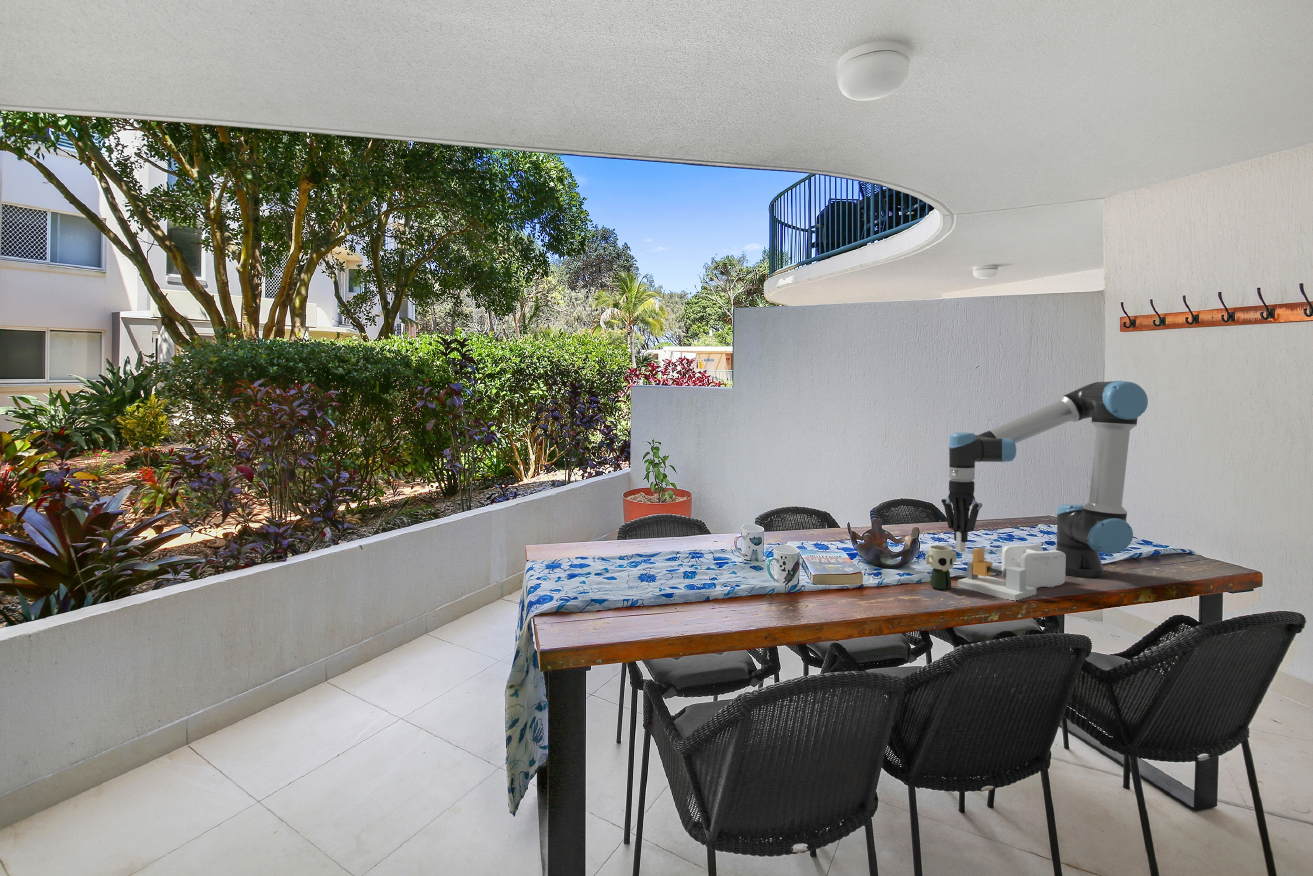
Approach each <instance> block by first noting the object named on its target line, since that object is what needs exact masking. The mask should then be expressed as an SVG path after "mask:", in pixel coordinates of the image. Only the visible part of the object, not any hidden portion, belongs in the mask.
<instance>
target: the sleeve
mask: <svg viewBox="0 0 1313 876" xmlns="http://www.w3.org/2000/svg"><path fill="white" fill-rule="evenodd" d="M985 551H986V550H985V547H981V546H980V547H976V548H973V549H972V561H973V574H975V575H980V576H984V577H986V576H992V575H993V572H989V571H987V567H988V568H993V562H992V561H988V560H985Z"/></svg>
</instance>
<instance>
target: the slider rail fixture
mask: <svg viewBox="0 0 1313 876" xmlns="http://www.w3.org/2000/svg"><path fill="white" fill-rule="evenodd" d="M966 566H967V568H966V577H964V578H961V579H958V580H957V587H959V588H962V589H967V590H970V591H973V590H974V592H977V591H978V593H982V594H985V595H989V596H994V597H997V598H999V599H1000V598H1001V599H1003V600H1004V599H1005V600H1007V599H1009V600H1008V601H1011V600H1015V601H1014V602H1017V601H1016V600H1018V601H1020V600H1019V599H1021V600H1023V599H1022V598H1024V599H1026V598H1025V597H1027V598H1029V596H1030V597H1032V595H1033V596H1036V595H1037V588H1035V587H1031V586H1027V585H1026V569H1023V568H1018V567H1014V566H1012V567H1009V568H1004V569H1003V571H1002V569H1001V570H1000V569H996V568H993V567H992V568H988V567H987V571H989V572H992V574H993V573H994V574H998V575H1001V576H1002V579H1001V578H997V577H992V576H991V575H989V576H986V577H984V576H980V575H975V574H973V560H972V561H971V562H970V561H967V562H966ZM1003 578H1004V579H1003ZM1005 578H1006V579H1005Z"/></svg>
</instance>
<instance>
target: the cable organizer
mask: <svg viewBox="0 0 1313 876" xmlns="http://www.w3.org/2000/svg"><path fill="white" fill-rule="evenodd" d="M1012 566H1014V567H1018V568H1023V569H1026V585H1027V586H1031V587H1035V588H1036V589H1039V588H1043V587H1046V588H1054V587H1055V586H1056V587H1057V586H1062V585H1063V584H1064V583H1065V582H1066V574H1065V569H1066V555H1065V553H1064V552H1061V551H1058V550H1056V549H1055V550H1044V549H1043V546H1041V545H1039V544H1036V543H1030V544H1029V543H1028V544H1016V545H1015V544H1013V545H1006V546H1005V547H1003V548H1002V551H1001V570H1002V571H1003V569H1004V568H1009V567H1012ZM1004 580H1006V578H1004Z"/></svg>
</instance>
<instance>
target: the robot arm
mask: <svg viewBox="0 0 1313 876" xmlns="http://www.w3.org/2000/svg"><path fill="white" fill-rule="evenodd" d="M1148 406H1149V399H1148V395H1147V393H1146V391H1145V389H1143V388H1142V387H1141V386H1140V385H1139V384H1138V383H1135V382H1132V381H1126V380H1124V381H1123V380H1113V381H1111V380H1110V381H1096V382H1092V383H1090V384H1087V385H1084V386H1081V387H1080V388H1077V389H1075V390H1073V391H1071V392H1069V393H1066V394H1064V395H1062V396H1060V397H1059V398H1058V401H1056V402H1052V403H1051V404H1048V405H1046V406H1043V407H1041V408H1038V409H1036V410H1035V411H1032V412H1030V413H1027V414H1025V415H1022V416H1020V417H1018V418H1015V419H1013V420H1011V421H1007V422H1006V423H1004V424H1001V425H999V426H996V427H995V428H992V429H989V430H987V431H985V432H982V433H980V434H975V433H974V432H953V433H951V434H950V436H949V442H948V443H949V444H948V451H949V452H948V453H949V458H948V459H949V461H948V462H949V463H948V465H949V466H948V468H949V469H948V474H949V475H948V479H950V480H949V481H948V491H949V493H948V496H947V497H946V498H942V499H941V504H942V505H943V507H944V512H945V518H946V523H947V527H948V529H951V530H953V533H954V534H953V540H954V542H955V552H956V553H964V552H966V543H967V542H968V541H969V539H968V536H969V535H968V534H969V533H970V532H974V531H975V527H976V523H977V519H978V516H979V511H980V510H981V508H982V507H983V504H982V503H981V502H978V501H977V500H976V497H975V495H974V493H975V485H976V483H975V481H974V480H976V479H975V478H976V477H975V474H976V473H975V472H976V463H981V462H984V463H985V462H987V463H990V462H991V463H993V462H995V463H997V462H998V463H1006V462H1013V461H1014V459H1015V458H1016V456H1017V445H1016V444H1018V443H1020V442H1023V441H1025V440H1028V439H1030V438H1032V437H1035V436H1037V435H1040V434H1041V433H1044V432H1047V431H1049V430H1053V429H1054V428H1057V427H1059V426H1062V425H1064V424H1066V423H1069V422H1072V423H1077V422H1079V421H1082V420H1085V419H1089V418H1091V424H1092V426H1094V427H1095V430H1096V431H1095V439H1094V448H1093V449H1094V450H1093V460H1092V469H1091V478H1090V485H1089V486H1090V487H1089V488H1090V489H1089V498H1088V502H1086V503H1085V504H1060V505H1059V506H1058V508H1057V513H1056V548H1055V550H1058V551H1061V552H1064V553H1065V555H1066V569H1065V576H1072V577H1073V576H1074V577H1080V578H1082V577H1083V578H1097V577H1098V576H1099V577H1102V576H1103V575H1104V565H1103V563H1102V560H1101V557H1100V555H1099V553H1103V554H1107V555H1111V554H1117V553H1121V552H1123V551H1125V549H1128V547H1129V546H1130V545H1131V543H1132V541H1133V538H1134V532H1133V531H1134V530H1133V528H1132V527H1131V525H1130V524H1129V523H1128V521H1127V516H1128V511H1127V510H1126V509H1125V508H1124V507H1123V497H1124V490H1125V479H1126V472H1127V471H1126V469H1127V461H1128V454H1129V453H1128V452H1129V442H1130V434H1131V430H1132V429H1134V428H1135V427H1137V426H1138V418H1139V417H1141V416H1142V414H1144V413H1145V412H1146V411H1147V408H1148ZM1099 577H1098V578H1099Z"/></svg>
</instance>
